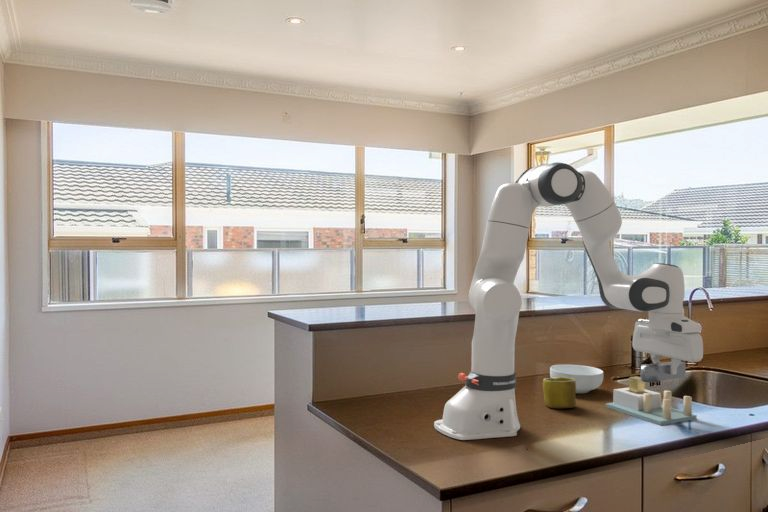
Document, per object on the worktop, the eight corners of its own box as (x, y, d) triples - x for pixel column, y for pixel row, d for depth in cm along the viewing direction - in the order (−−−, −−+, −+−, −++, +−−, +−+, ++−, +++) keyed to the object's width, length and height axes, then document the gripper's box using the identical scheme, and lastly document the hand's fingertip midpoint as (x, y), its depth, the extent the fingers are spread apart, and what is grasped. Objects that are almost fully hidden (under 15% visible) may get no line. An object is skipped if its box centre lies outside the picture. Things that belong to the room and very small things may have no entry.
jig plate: (660, 425, 154) (660, 402, 154) (605, 406, 172) (605, 386, 171) (696, 418, 160) (696, 397, 160) (640, 401, 177) (640, 382, 177)
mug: (584, 406, 165) (573, 371, 167) (548, 415, 167) (537, 380, 170) (581, 403, 177) (570, 370, 179) (548, 411, 179) (538, 379, 181)
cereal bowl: (608, 398, 181) (608, 375, 181) (552, 395, 184) (552, 373, 184) (598, 385, 198) (598, 364, 198) (547, 383, 201) (547, 362, 200)
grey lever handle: (650, 383, 156) (650, 368, 155) (636, 379, 160) (636, 365, 160) (688, 377, 161) (688, 363, 161) (673, 374, 166) (673, 360, 166)
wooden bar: (637, 407, 168) (637, 379, 168) (628, 404, 171) (629, 377, 170) (644, 405, 169) (645, 378, 169) (636, 403, 172) (636, 376, 172)
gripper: (627, 318, 169) (626, 366, 169) (690, 327, 150) (690, 381, 151) (643, 317, 171) (642, 364, 172) (707, 326, 153) (706, 379, 153)
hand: (665, 372), depth 161 cm, fingers closed on grey lever handle, 3 cm apart
